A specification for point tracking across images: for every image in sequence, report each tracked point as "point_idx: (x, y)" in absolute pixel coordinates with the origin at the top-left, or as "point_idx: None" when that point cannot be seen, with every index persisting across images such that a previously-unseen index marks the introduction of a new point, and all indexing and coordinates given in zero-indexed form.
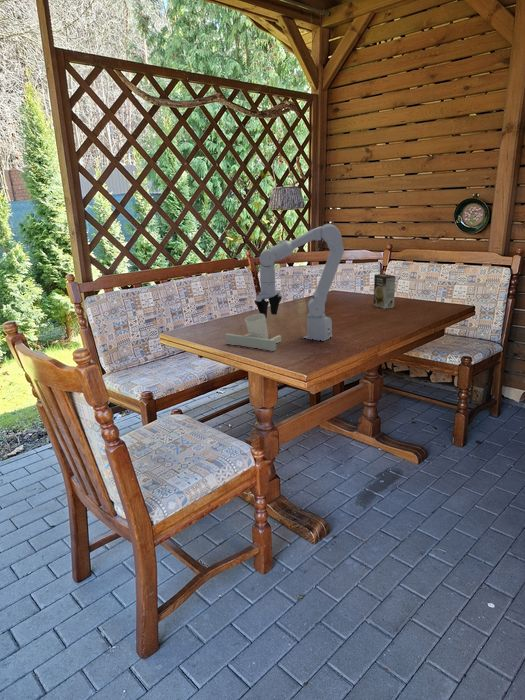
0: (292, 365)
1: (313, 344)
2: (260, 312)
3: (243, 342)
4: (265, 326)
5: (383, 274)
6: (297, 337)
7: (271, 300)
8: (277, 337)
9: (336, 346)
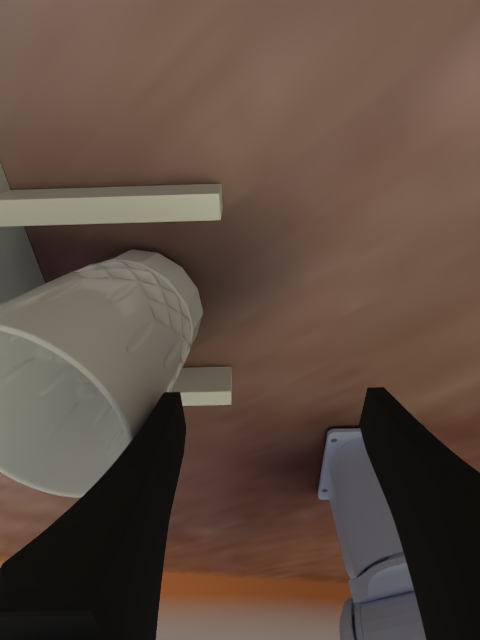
0: (13, 517)
1: (262, 482)
2: (139, 443)
3: None
4: (113, 424)
5: None
6: (344, 400)
7: (454, 557)
8: (189, 405)
9: (274, 531)
